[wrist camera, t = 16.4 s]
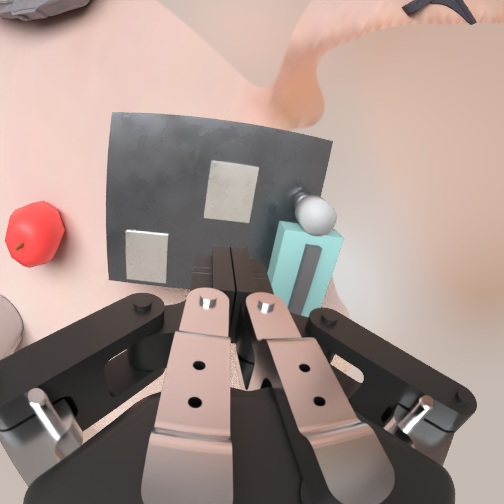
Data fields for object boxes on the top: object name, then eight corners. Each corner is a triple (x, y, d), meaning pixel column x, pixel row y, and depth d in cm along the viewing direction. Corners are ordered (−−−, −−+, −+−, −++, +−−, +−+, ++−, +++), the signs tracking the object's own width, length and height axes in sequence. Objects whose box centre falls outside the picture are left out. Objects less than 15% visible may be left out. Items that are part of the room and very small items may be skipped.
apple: (49, 261, 33) (22, 292, 26) (16, 217, 30) (-16, 242, 22) (82, 229, 32) (54, 258, 25) (47, 181, 28) (11, 200, 21)
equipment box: (278, 261, 37) (299, 310, 28) (128, 246, 34) (102, 292, 25) (306, 135, 31) (343, 144, 21) (136, 113, 27) (102, 112, 18)
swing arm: (286, 189, 22) (294, 198, 20) (342, 200, 23) (356, 210, 21) (246, 360, 30) (249, 378, 28) (290, 361, 31) (295, 378, 29)
